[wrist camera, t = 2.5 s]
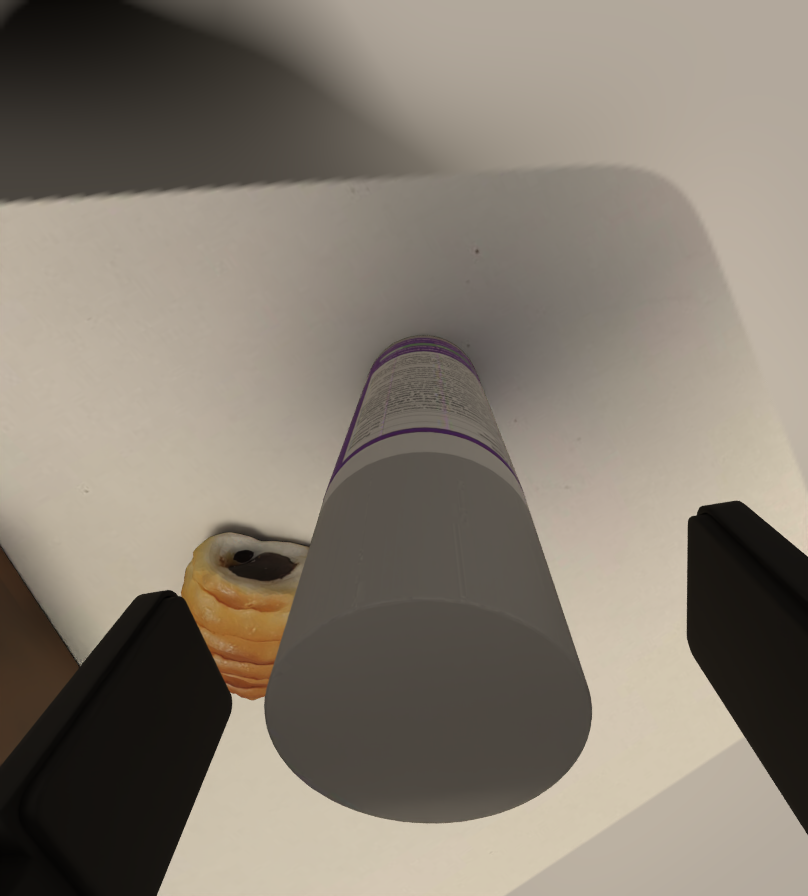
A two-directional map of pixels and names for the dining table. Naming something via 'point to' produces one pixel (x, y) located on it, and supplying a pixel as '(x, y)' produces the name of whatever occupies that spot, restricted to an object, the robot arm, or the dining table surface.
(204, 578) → the pastry
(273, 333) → the dining table surface
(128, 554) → the dining table surface
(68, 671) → the shelf
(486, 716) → the container
